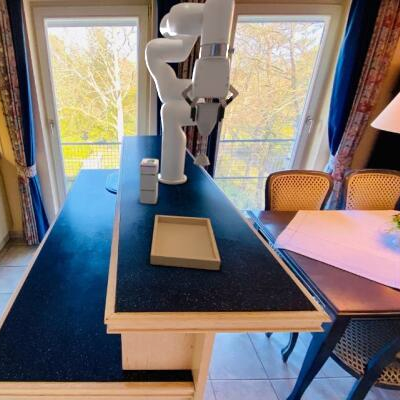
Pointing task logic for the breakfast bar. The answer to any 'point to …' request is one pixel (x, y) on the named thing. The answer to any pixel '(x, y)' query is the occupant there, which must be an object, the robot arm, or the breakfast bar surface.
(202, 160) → the chalice
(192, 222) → the tray
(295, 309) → the breakfast bar surface
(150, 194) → the syrup box
